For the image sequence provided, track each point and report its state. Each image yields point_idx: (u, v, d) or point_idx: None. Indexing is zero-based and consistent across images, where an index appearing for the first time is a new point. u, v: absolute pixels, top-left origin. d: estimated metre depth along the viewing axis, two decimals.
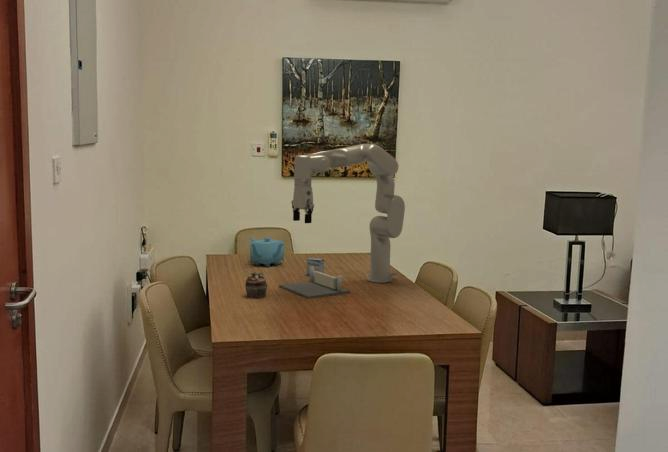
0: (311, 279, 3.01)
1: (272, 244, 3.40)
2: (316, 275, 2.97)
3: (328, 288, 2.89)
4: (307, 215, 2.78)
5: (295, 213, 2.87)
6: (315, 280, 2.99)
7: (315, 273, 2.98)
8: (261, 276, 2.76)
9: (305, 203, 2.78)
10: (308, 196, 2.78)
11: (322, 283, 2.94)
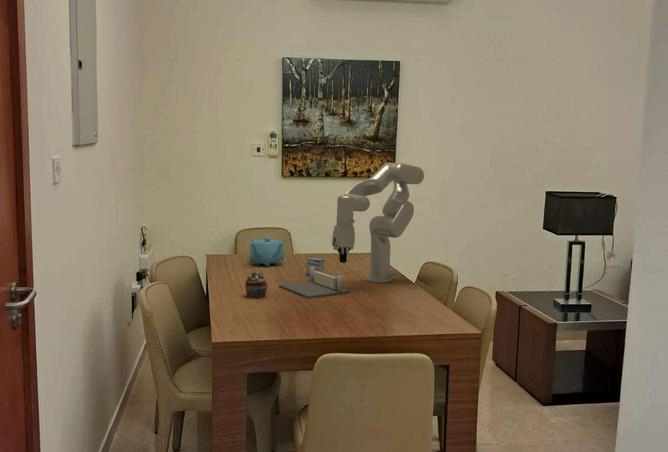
0: (311, 279, 3.01)
1: (272, 244, 3.40)
2: (316, 275, 2.97)
3: (328, 288, 2.89)
4: None
5: None
6: (315, 280, 2.99)
7: (315, 273, 2.98)
8: (261, 276, 2.76)
9: None
10: None
11: (322, 283, 2.94)
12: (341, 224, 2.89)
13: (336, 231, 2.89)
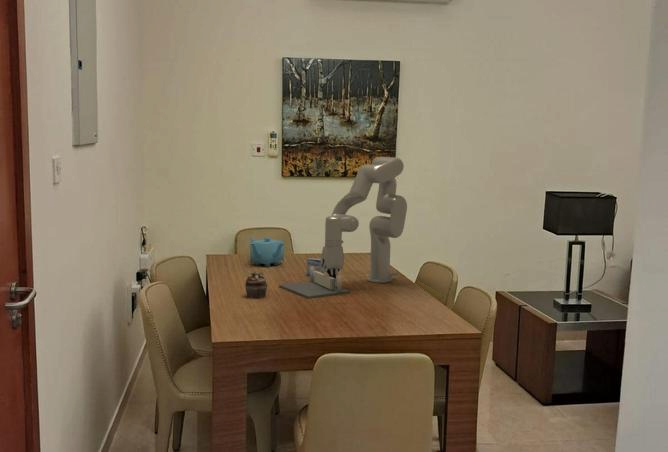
0: (311, 279, 3.01)
1: (272, 244, 3.40)
2: (315, 275, 2.97)
3: None
4: (335, 275, 2.92)
5: None
6: (314, 280, 2.99)
7: (315, 273, 2.98)
8: (261, 276, 2.76)
9: None
10: None
11: (320, 283, 2.93)
12: (329, 245, 2.87)
13: (325, 253, 2.87)
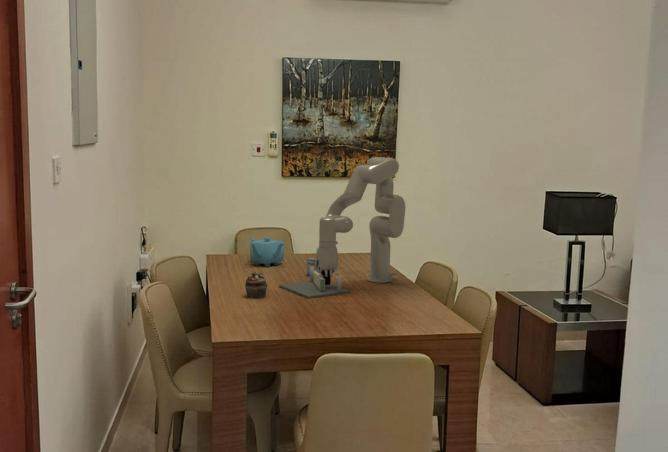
0: (311, 279, 3.01)
1: (272, 244, 3.40)
2: (314, 275, 2.97)
3: (328, 288, 2.89)
4: (330, 277, 2.90)
5: None
6: (313, 280, 2.99)
7: (314, 273, 2.98)
8: (261, 276, 2.76)
9: None
10: None
11: (316, 283, 2.93)
12: (324, 247, 2.85)
13: (319, 254, 2.86)
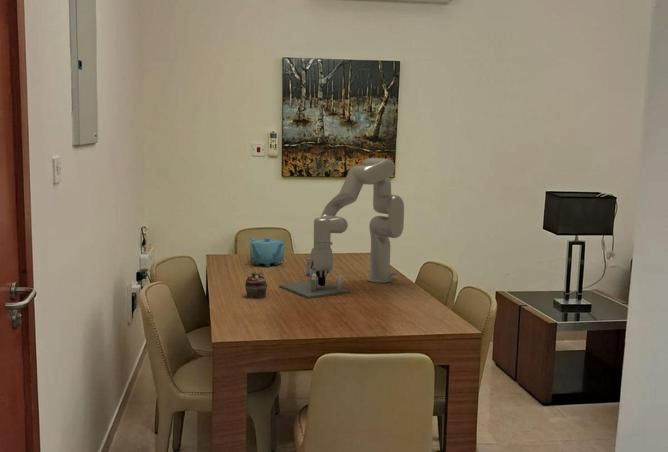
0: None
1: (272, 244, 3.40)
2: None
3: (328, 288, 2.89)
4: (324, 277, 2.89)
5: None
6: None
7: None
8: (261, 276, 2.76)
9: None
10: None
11: None
12: (318, 247, 2.83)
13: (313, 254, 2.84)
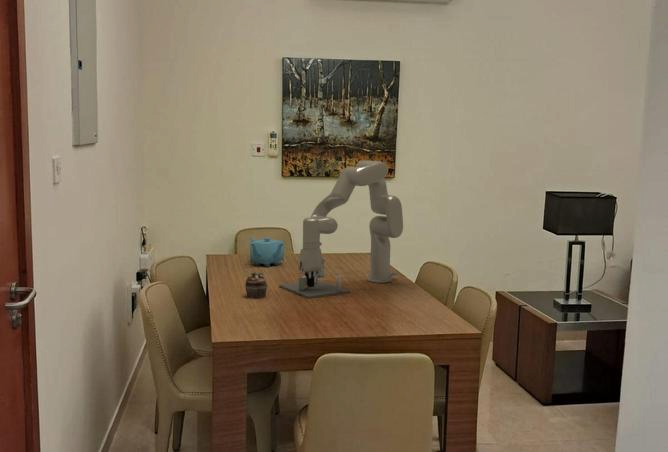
0: None
1: (272, 244, 3.40)
2: None
3: (328, 288, 2.89)
4: (313, 278, 2.85)
5: None
6: None
7: None
8: (261, 276, 2.76)
9: None
10: None
11: None
12: (307, 248, 2.80)
13: (302, 255, 2.81)
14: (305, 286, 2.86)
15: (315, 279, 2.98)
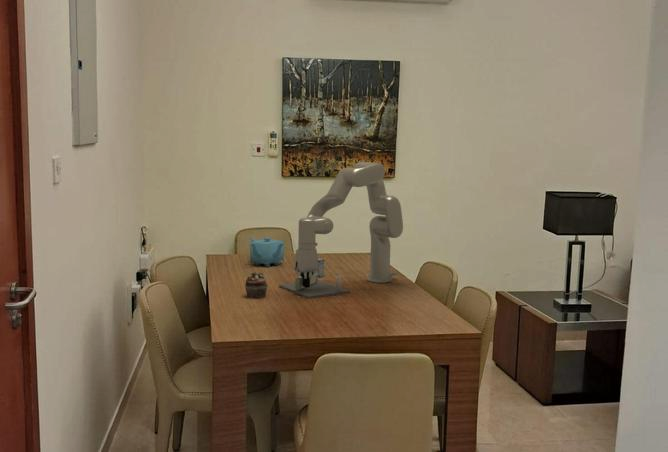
0: None
1: (272, 244, 3.40)
2: None
3: (328, 288, 2.89)
4: None
5: None
6: None
7: None
8: (261, 276, 2.76)
9: (315, 269, 2.84)
10: None
11: None
12: (303, 248, 2.79)
13: (298, 255, 2.79)
14: (302, 286, 2.87)
15: (315, 279, 2.98)
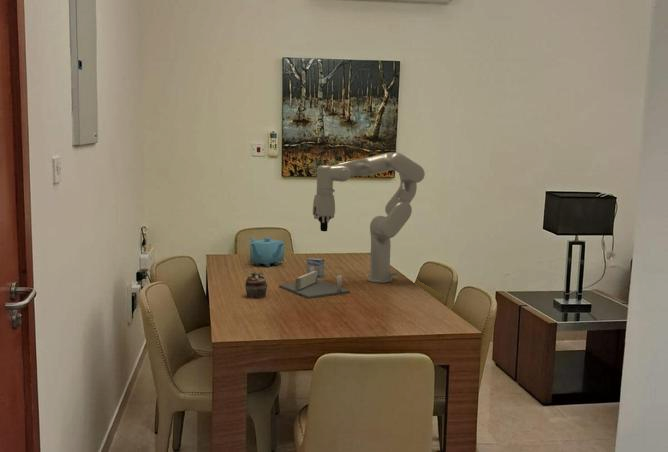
0: None
1: (272, 244, 3.40)
2: None
3: (328, 288, 2.89)
4: (327, 223, 3.00)
5: None
6: None
7: None
8: (261, 276, 2.76)
9: (332, 214, 3.01)
10: None
11: None
12: (321, 193, 2.95)
13: (316, 200, 2.96)
14: (302, 286, 2.87)
15: (315, 279, 2.98)
